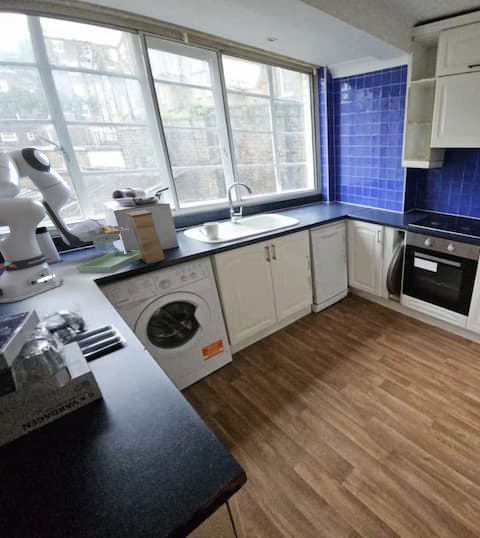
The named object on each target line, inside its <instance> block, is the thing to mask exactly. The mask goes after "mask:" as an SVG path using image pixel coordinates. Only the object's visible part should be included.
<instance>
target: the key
mask: <svg viewBox="0 0 480 538" xmlns="http://www.w3.org/2000/svg"><path fill="white" fill-rule="evenodd" d="M108 226H109V225H104V226H102V229H103V230H106V231H105V233H106V234H107V235H111V234H116V233H120V230H118V229H112V228H110V227H108Z"/></svg>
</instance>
